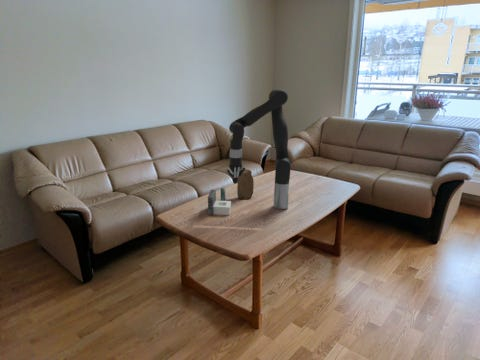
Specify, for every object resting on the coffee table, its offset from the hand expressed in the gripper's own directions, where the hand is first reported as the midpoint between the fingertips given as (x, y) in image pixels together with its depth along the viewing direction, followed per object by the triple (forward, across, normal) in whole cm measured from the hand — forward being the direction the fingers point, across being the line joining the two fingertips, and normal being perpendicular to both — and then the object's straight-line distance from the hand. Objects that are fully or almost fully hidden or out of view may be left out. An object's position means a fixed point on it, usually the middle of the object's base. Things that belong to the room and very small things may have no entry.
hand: (235, 182), depth 211 cm
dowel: (+20, +2, -12) cm, 23 cm away
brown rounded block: (+20, -18, -18) cm, 32 cm away
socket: (+18, +8, -1) cm, 20 cm away
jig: (+20, +6, 0) cm, 20 cm away
